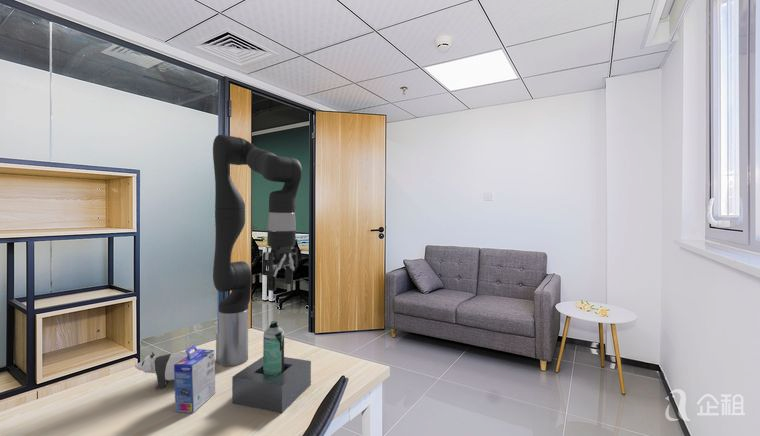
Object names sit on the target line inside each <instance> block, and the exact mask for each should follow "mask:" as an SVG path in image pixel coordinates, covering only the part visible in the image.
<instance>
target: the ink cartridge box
mask: <svg viewBox="0 0 760 436" xmlns="http://www.w3.org/2000/svg"><path fill="white" fill-rule="evenodd" d="M191 350H194V351H193V352H192V353H190V352H191ZM184 352H186V353H187V357H185V358H184V359H182V360H181V361H179V362H178V363H176V364H175V365H174V378H175V379H174V401H175V403H174V404H175V408H174V409H175V412H181V413H190V414H191V413H195V412H196V411H197V410H198V409H199V408H200V407H202V405H204V404H205V403H206V402H207V401H208V400H209V399H210V398H211V397H213V395H215V394H216V369H215V368H216V367H215V365H216V364H215V363H216V354H215V350H214V349H202V348H199V349H197V347H196V345H195V344H194V345H191V346H190V347H188V348H186V349H185V351H184ZM189 353H190V354H189Z"/></svg>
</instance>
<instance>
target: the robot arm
mask: <svg viewBox="0 0 760 436" xmlns="http://www.w3.org/2000/svg"><path fill="white" fill-rule="evenodd" d="M212 143H213V145H212V159H213V160H212V161H213V170H214V182H215V183H214V186H215V188H214V189H215V198H214V199H215V200H214V218H215V219H214V222H215V224H214V225H215V239H214V240H215V244H214V245H215V246H214V255H213V256H214V259H213V267H212V269H213V270H212V279H213V280H212V281H213V282H212V283H213V285H214V288H215V290H216V291H218V292H220V293H226V292H229V293H230V294H228V295H227V297H225V298H223V299H222V300H221V301H219V304H218V331H217V332H216V333H215V363H218V364H219V365H220V366H224V367H233V366H238V365H241V364H244V363H245V362H247V361H248V360H249V304H250V301H251V293H252V270H251V267H250V265H249V264H248V262H246V261H242V260H241V261H234V262H233V261H232V255H233V254H232V253H233V249H234V245H235V243H236V241H237V240H238V239H239V237H240V234H241V233H242V232H243V229H244V227H245V223H246V204H245V201H244V198H243V197H242V195H241V194H240V192H239V190H238V189H237V187H236V186H235V185H234V182H233V181H232V177H231V175H230V174H231V173H230V171H229V165H235V166H244V165H245V166H248V167H249V169H251V170H252V171H253V172H255V173H258V174H260V175H262V177H263V178H264V179H266V180H267V181H269V182H273V183H275V182H276V183H283V187H282V188H281V189H279V190H274V191H271V192H270V193H269V196H268V216H267V233H266V234H267V238H266V240H267V241H266V243H267V246H268V247H270V251H267V252H265V251H264V252H263V253H262V264H261V275H262V276H265V277H267V290H268V291H269V292H270V291H272V292H274V291H276V290H277V274H278V271H279V270H281V268H282V267H283V268H284V283H285V284H286V285H292V284H293V283H294V271H295V268H298V267H299V266H298V265H299V263H298V262H299V261H298V260H299V259H298V256H299V255H298V250H299V249H298V247H294V246H296V233H297V231H296V227H297V225H296V224H297V221H296V197H297V194H298V191H299V187H300V183H301V180H302V176H303V167H302V164H301V162H300V161H299V160H298V159H296V158H295V157H286V156H279V155H276V154H275V153H273V152H271V151H269V150H265V149H263V148H258V147H257V146H255V145H254V144H253V143H252V142H250V141H248V140H246V139H245V138H242V137H238V136H234V135H233V136H232V135H227V134H225V135H224V134H218V135H216V136H215V137H214V139H213V142H212Z"/></svg>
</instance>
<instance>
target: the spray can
mask: <svg viewBox="0 0 760 436" xmlns="http://www.w3.org/2000/svg"><path fill="white" fill-rule="evenodd" d="M262 340H263V343H262V344H263V346H262V347H263V349H262V350H263V353H262V355H263V356H262V357H263V374H266V375H271V376H277V377H278V376H279V375H280V374H282V373H283V372H284V357H285V331H284V328H283V327H280V325H278V321H277V320H274V321H271V322H270V324H269V326H268V328H267V329H265V330H264V331H263V339H262Z"/></svg>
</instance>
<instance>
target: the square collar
mask: <svg viewBox="0 0 760 436" xmlns="http://www.w3.org/2000/svg"><path fill="white" fill-rule="evenodd" d="M311 374H312V361H311V360H308V359H300V358H293V357H286V356H284V372H283V373H282V374H280V375H279V376H278V377H277V376H271V375H266V374H263V356H262V357H260V358H259V359H257V360H255V361H254V362H252V363H251V364H249V365H248V366H246V367H244V368H243V369H242V370H240V371H239V372H237V373H235V374H234V375H233V376H232V379H231V382H232V383H231V390H232V391H231V396H232V398H231V403H232V404H236V405H241V406H245V407H249V408H255V409H260V410H265V411H270V412H275V413H279V414H283V413H284V412H285V411H286V410H287V409H288V408H289V407H290V406H291V405H292V404H293V403H294V402H295V401H297V399H298V398H299V397H300V396H301V395H302V394H303V393H304V392H305V391H307V389H309V387H310V386H311V383H312V382H311V381H312V379H311V377H312V375H311Z"/></svg>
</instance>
